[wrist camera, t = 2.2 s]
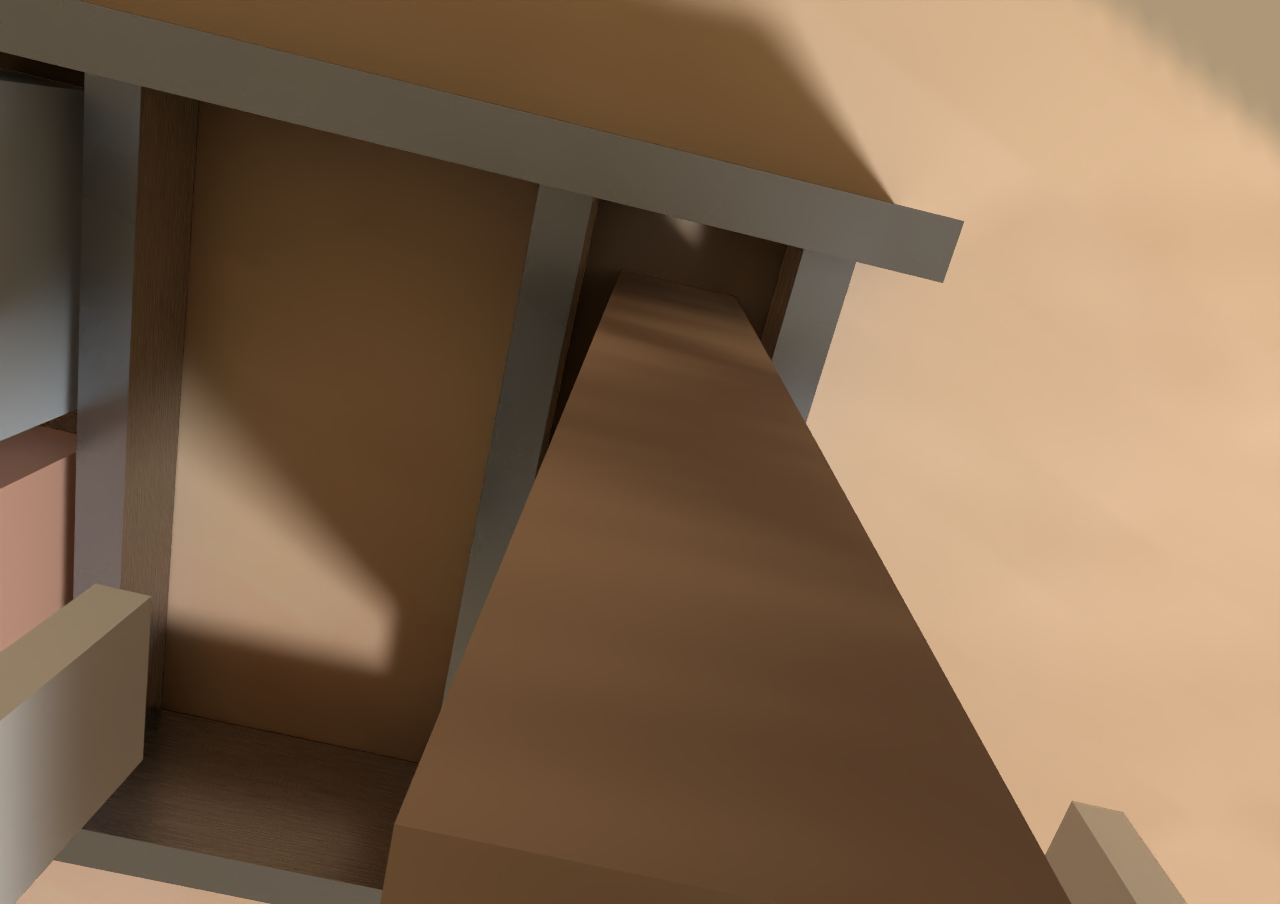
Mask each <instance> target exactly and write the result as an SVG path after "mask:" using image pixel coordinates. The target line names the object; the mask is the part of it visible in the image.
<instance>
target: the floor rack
mask: <svg viewBox="0 0 1280 904" xmlns="http://www.w3.org/2000/svg"><path fill="white" fill-rule="evenodd" d="M0 52H5V53H9V54H13V55H17V56H21V57H25V58H29V59H33V60H37V61H41V62H45V63H49V64H53V65H57V66H62V67H66V68H70V69H74V70H78V71H82V72H85V84H84V130H83V176H82V221H81V267H80V313H79V359H78V405H77V450H76V496H75V542H74V588H73V600H74V599H75V598H76V597H78V596H79V595H80V594H82V593H83V592H85V591H86V590H87V589H89V588H90V587H92V586H93V585H94V584H99V585H104V586H108V587H113V588H117V589H122V590H126V591H131V592H135V593H140V594H144V595H149V596H152V601H151V619H150V637H149V656H148V674H147V693H146V711H145V729H144V748H143V760H142V761H141V762H140V763H139V765H138V766H137V767H136V768H135V769H134V770H133V771H132V772H131V774H130V775H129V776H128V777H127V778H126V779H125V780H124V781H123V783H122V784H121V785H120V786H119V787H118V788H117V789H116V790H115V791H114V793H113V794H112V795H111V796H110V797H109V798H108V799H107V800H106V802H105V803H104V804H103V805H102V806H101V807H100V808H99V809H98V810H97V812H96V813H95V814H94V815H93V816H92V817H91V818H90V819H89V821H88V822H87V823H86V824H85V825H84V826H83V827H82V828H81V830H80V831H79V832H78V833H77V834H76V835H75V836H74V837H73V838H72V840H71V841H70V842H69V843H68V844H67V845H66V846H65V847H64V849H63V850H62V851H61V852H60V853H59V854H58V855H57V856H56V858H55V859H54V860H56V861H61V862H66V863H71V864H76V865H81V866H86V867H91V868H96V869H101V870H106V871H111V872H116V873H120V874H125V875H130V876H135V877H140V878H145V879H150V880H155V881H160V882H165V883H170V884H175V885H180V886H185V887H190V888H195V889H200V890H205V891H210V892H215V893H220V894H225V895H230V896H235V897H240V898H245V899H250V900H255V901H260V902H265V903H270V904H380V902H381V896H382V891H383V885H384V879H385V874H386V868H387V862H388V857H389V851H390V845H391V840H392V834H393V828H394V823H395V821H396V819H397V816H398V814H399V811H400V809H401V806H402V804H403V801H404V799H405V797H406V794H407V792H408V789H409V787H410V784H411V782H412V779H413V777H414V775H415V772H416V770H417V767H418V765H419V763H414V762H410V761H405V760H400V759H395V758H391V757H386V756H381V755H376V754H372V753H367V752H362V751H357V750H353V749H348V748H343V747H338V746H334V745H329V744H324V743H319V742H315V741H310V740H305V739H300V738H296V737H291V736H286V735H281V734H277V733H272V732H267V731H262V730H258V729H253V728H248V727H243V726H238V725H234V724H229V723H224V722H219V721H215V720H210V719H205V718H200V717H196V716H191V715H186V714H181V713H177V712H172V711H167V710H162V709H161V701H162V685H163V669H164V653H165V637H166V621H167V605H168V589H169V573H170V557H171V540H172V524H173V508H174V492H175V476H176V460H177V444H178V428H179V412H180V396H181V380H182V364H183V348H184V332H185V316H186V299H187V283H188V267H189V251H190V235H191V219H192V203H193V187H194V171H195V155H196V139H197V123H198V107H199V100H200V101H204V102H208V103H212V104H216V105H220V106H224V107H229V108H233V109H237V110H241V111H245V112H249V113H253V114H257V115H261V116H265V117H269V118H273V119H277V120H282V121H286V122H290V123H294V124H298V125H302V126H306V127H310V128H314V129H318V130H322V131H326V132H330V133H334V134H339V135H343V136H347V137H351V138H355V139H359V140H363V141H367V142H371V143H375V144H379V145H383V146H387V147H391V148H396V149H400V150H404V151H408V152H412V153H416V154H420V155H424V156H428V157H432V158H436V159H440V160H444V161H449V162H453V163H457V164H461V165H465V166H469V167H473V168H477V169H481V170H485V171H489V172H493V173H497V174H501V175H506V176H510V177H514V178H518V179H522V180H526V181H530V182H534V183H538V184H540V185H539V190H538V196H537V201H536V206H535V212H534V217H533V222H532V228H531V233H530V238H529V244H528V249H527V254H526V260H525V265H524V270H523V276H522V281H521V286H520V291H519V297H518V302H517V307H516V313H515V318H514V323H513V329H512V334H511V339H510V345H509V350H508V355H507V361H506V366H505V371H504V377H503V382H502V387H501V393H500V398H499V403H498V409H497V414H496V419H495V425H494V430H493V435H492V441H491V446H490V451H489V457H488V462H487V467H486V473H485V478H484V483H483V489H482V494H481V499H480V505H479V510H478V515H477V520H476V526H475V531H474V536H473V542H472V547H471V552H470V558H469V563H468V568H467V574H466V579H465V584H464V590H463V595H462V600H461V606H460V611H459V616H458V622H457V627H456V632H455V638H454V643H453V648H452V654H451V659H450V664H449V670H448V675H447V680H446V686H445V691H444V696H443V702H442V706H443V704H444V701H445V699H446V697H447V694H448V692H449V689H450V687H451V684H452V682H453V679H454V677H455V675H456V672H457V670H458V667H459V665H460V662H461V660H462V657H463V655H464V653H465V650H466V648H467V645H468V643H469V640H470V638H471V636H472V633H473V631H474V628H475V626H476V623H477V621H478V618H479V616H480V614H481V611H482V609H483V606H484V604H485V601H486V599H487V596H488V594H489V592H490V589H491V587H492V584H493V582H494V579H495V577H496V575H497V572H498V570H499V567H500V565H501V562H502V560H503V557H504V555H505V553H506V550H507V548H508V545H509V543H510V540H511V538H512V535H513V533H514V531H515V528H516V526H517V523H518V521H519V518H520V516H521V514H522V511H523V509H524V506H525V504H526V501H527V499H528V496H529V494H530V492H531V489H532V487H533V484H534V482H535V479H536V477H537V474H538V472H539V470H540V467H541V465H542V462H543V460H544V457H545V455H546V452H547V447H548V442H549V438H550V433H551V428H552V423H553V419H554V414H555V409H556V404H557V400H558V395H559V390H560V385H561V381H562V376H563V371H564V366H565V362H566V357H567V352H568V347H569V343H570V338H571V333H572V328H573V324H574V319H575V314H576V309H577V305H578V300H579V295H580V290H581V286H582V281H583V276H584V271H585V267H586V262H587V257H588V252H589V248H590V243H591V238H592V234H593V229H594V224H595V219H596V215H597V210H598V205H599V200H600V199H603V200H607V201H611V202H616V203H620V204H624V205H628V206H632V207H636V208H640V209H644V210H648V211H652V212H656V213H660V214H664V215H668V216H673V217H677V218H681V219H685V220H689V221H693V222H697V223H701V224H705V225H709V226H713V227H717V228H721V229H725V230H730V231H734V232H738V233H742V234H746V235H750V236H754V237H758V238H762V239H766V240H770V241H774V242H778V243H783V244H787V249H786V253H785V256H784V260H783V263H782V267H781V270H780V274H779V277H778V281H777V284H776V288H775V291H774V295H773V298H772V302H771V305H770V309H769V312H768V316H767V319H766V323H765V326H764V330H763V333H762V337H761V341H760V342H761V343H762V345H763V347H764V349H765V351H766V352H767V354H768V356H769V358H770V360H771V361H772V363H773V365H774V367H775V369H776V370H777V372H778V374H779V376H780V378H781V379H782V381H783V383H784V385H785V387H786V389H787V390H788V392H789V394H790V396H791V398H792V399H793V401H794V403H795V405H796V407H797V408H798V410H799V412H800V414H801V416H802V417H803V419H804V421H805V423H806V421H807V418H808V414H809V411H810V408H811V405H812V402H813V398H814V395H815V392H816V389H817V385H818V382H819V379H820V376H821V373H822V369H823V366H824V363H825V360H826V357H827V353H828V350H829V347H830V344H831V341H832V337H833V334H834V331H835V328H836V324H837V321H838V318H839V315H840V312H841V308H842V305H843V302H844V299H845V296H846V292H847V289H848V286H849V283H850V279H851V276H852V273H853V270H854V267H855V263H856V262H860V263H864V264H868V265H872V266H876V267H880V268H884V269H888V270H893V271H897V272H901V273H905V274H909V275H913V276H917V277H921V278H925V279H929V280H933V281H937V282H941V283H943V281H944V278H945V275H946V273H947V270H948V267H949V264H950V261H951V258H952V255H953V252H954V249H955V247H956V244H957V241H958V238H959V235H960V232H961V229H962V226H963V223H964V221H961V220H957V219H953V218H949V217H945V216H941V215H937V214H933V213H929V212H925V211H921V210H917V209H913V208H909V207H905V206H901V205H897V204H893V203H889V202H885V201H881V200H877V199H873V198H869V197H865V196H861V195H857V194H853V193H849V192H845V191H841V190H837V189H833V188H829V187H825V186H821V185H817V184H813V183H809V182H805V181H800V180H796V179H792V178H788V177H784V176H780V175H776V174H772V173H768V172H764V171H760V170H756V169H752V168H748V167H744V166H740V165H736V164H732V163H728V162H724V161H720V160H716V159H712V158H708V157H704V156H700V155H696V154H692V153H688V152H684V151H680V150H676V149H672V148H668V147H664V146H660V145H656V144H652V143H648V142H644V141H640V140H636V139H632V138H628V137H624V136H620V135H616V134H612V133H608V132H604V131H600V130H596V129H592V128H588V127H584V126H580V125H576V124H572V123H568V122H564V121H560V120H556V119H552V118H548V117H544V116H540V115H536V114H532V113H528V112H524V111H520V110H516V109H512V108H508V107H504V106H500V105H496V104H492V103H488V102H484V101H480V100H476V99H472V98H468V97H464V96H460V95H456V94H452V93H448V92H444V91H440V90H436V89H432V88H428V87H424V86H420V85H416V84H412V83H408V82H404V81H400V80H396V79H392V78H388V77H384V76H380V75H376V74H372V73H368V72H364V71H360V70H356V69H352V68H348V67H344V66H340V65H336V64H332V63H328V62H324V61H320V60H316V59H312V58H308V57H303V56H299V55H295V54H291V53H287V52H283V51H279V50H275V49H271V48H267V47H263V46H259V45H255V44H251V43H247V42H243V41H239V40H235V39H231V38H227V37H223V36H219V35H215V34H211V33H207V32H203V31H199V30H195V29H191V28H187V27H183V26H179V25H175V24H171V23H167V22H163V21H159V20H155V19H151V18H147V17H143V16H139V15H135V14H131V13H127V12H123V11H119V10H115V9H111V8H107V7H103V6H99V5H95V4H91V3H87V2H83V1H79V0H0ZM441 709H442V707H441Z"/></svg>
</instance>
